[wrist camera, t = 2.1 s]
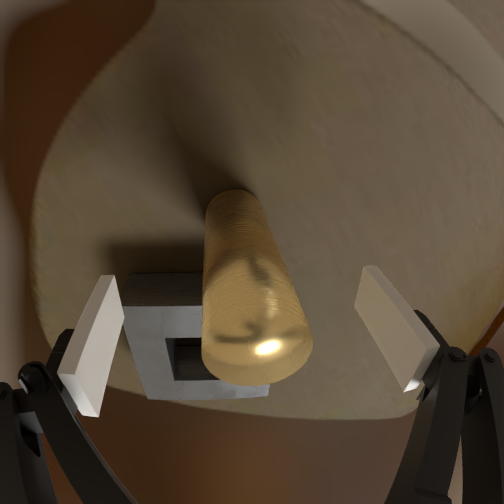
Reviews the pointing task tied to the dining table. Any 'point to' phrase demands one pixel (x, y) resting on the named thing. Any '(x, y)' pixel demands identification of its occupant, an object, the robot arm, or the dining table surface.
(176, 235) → the dining table surface
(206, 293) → the brass cylinder rod
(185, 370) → the block
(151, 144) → the dining table surface
